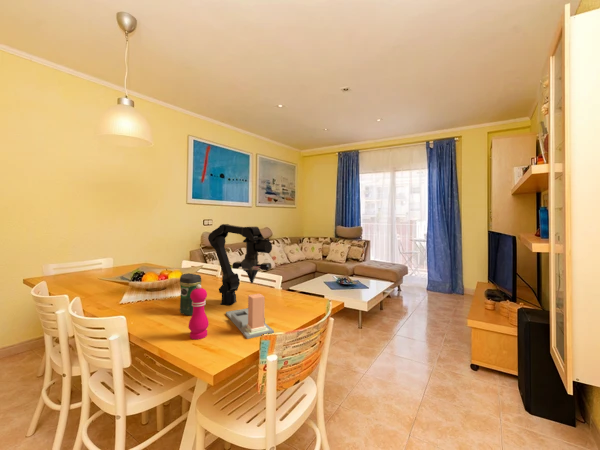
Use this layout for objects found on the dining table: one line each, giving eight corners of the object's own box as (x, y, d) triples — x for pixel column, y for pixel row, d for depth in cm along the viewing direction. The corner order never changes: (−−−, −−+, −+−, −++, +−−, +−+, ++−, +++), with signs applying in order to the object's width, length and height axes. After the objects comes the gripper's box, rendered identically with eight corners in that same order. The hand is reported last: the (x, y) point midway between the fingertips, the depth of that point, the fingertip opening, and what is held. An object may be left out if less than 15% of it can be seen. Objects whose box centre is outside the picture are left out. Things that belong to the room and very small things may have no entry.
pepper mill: (191, 332, 107) (192, 282, 107) (210, 331, 108) (210, 281, 108) (185, 340, 100) (185, 286, 100) (205, 340, 101) (206, 286, 100)
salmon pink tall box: (246, 326, 110) (246, 294, 110) (260, 323, 113) (260, 293, 113) (251, 332, 105) (251, 298, 105) (266, 329, 108) (266, 296, 108)
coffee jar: (204, 312, 130) (204, 273, 130) (190, 317, 124) (190, 276, 123) (191, 308, 135) (191, 271, 135) (176, 313, 128) (176, 274, 128)
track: (225, 313, 128) (225, 307, 128) (248, 310, 134) (248, 304, 134) (247, 338, 102) (247, 331, 102) (273, 332, 108) (273, 325, 108)
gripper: (227, 253, 129) (227, 285, 129) (264, 254, 125) (264, 288, 126) (237, 250, 140) (237, 280, 140) (271, 251, 136) (271, 282, 137)
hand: (251, 282), depth 135 cm, fingers closed
